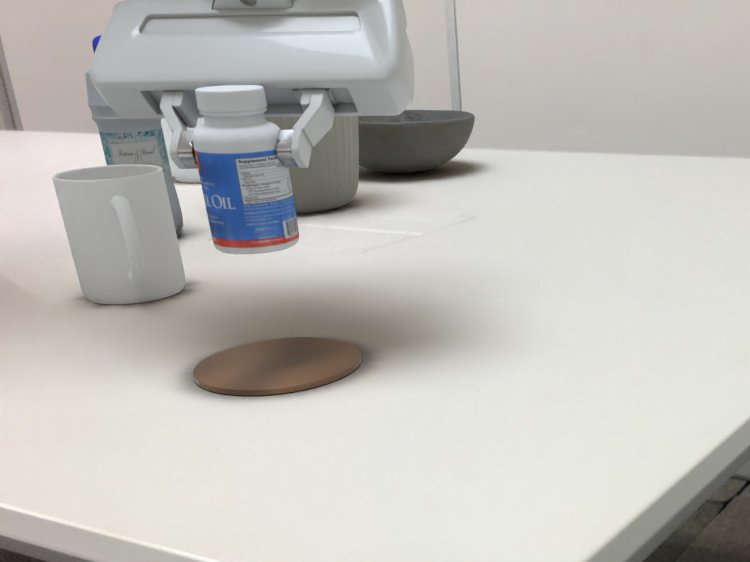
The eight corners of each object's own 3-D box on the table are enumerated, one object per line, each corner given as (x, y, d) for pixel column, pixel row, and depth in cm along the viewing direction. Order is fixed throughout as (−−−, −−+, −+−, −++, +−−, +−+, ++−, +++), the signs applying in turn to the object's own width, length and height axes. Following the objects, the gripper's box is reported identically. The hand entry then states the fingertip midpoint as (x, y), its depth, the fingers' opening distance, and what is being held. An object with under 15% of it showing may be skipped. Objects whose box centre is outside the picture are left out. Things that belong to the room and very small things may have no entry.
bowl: (303, 172, 147) (294, 113, 144) (428, 156, 160) (422, 102, 156) (376, 189, 133) (368, 125, 129) (506, 171, 145) (502, 112, 142)
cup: (179, 275, 93) (154, 161, 89) (203, 305, 84) (177, 179, 79) (79, 289, 89) (48, 170, 85) (93, 322, 80) (59, 191, 76)
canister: (221, 200, 127) (186, 16, 118) (367, 189, 133) (345, 13, 124) (226, 227, 112) (186, 19, 103) (390, 213, 118) (366, 15, 109)
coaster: (179, 402, 64) (177, 396, 64) (209, 348, 74) (208, 343, 73) (358, 387, 66) (357, 381, 66) (364, 337, 76) (364, 332, 75)
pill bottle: (200, 246, 66) (167, 88, 62) (278, 233, 70) (252, 81, 65) (235, 260, 63) (202, 93, 59) (315, 245, 66) (290, 86, 62)
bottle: (119, 247, 104) (69, 35, 95) (120, 235, 110) (73, 33, 101) (189, 240, 107) (146, 33, 98) (187, 228, 112) (146, 31, 103)
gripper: (93, -47, 65) (48, 131, 61) (406, -53, 64) (383, 128, 60) (142, 27, 71) (105, 194, 67) (429, 22, 70) (411, 191, 66)
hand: (239, 162), depth 63 cm, fingers closed on pill bottle, 5 cm apart
